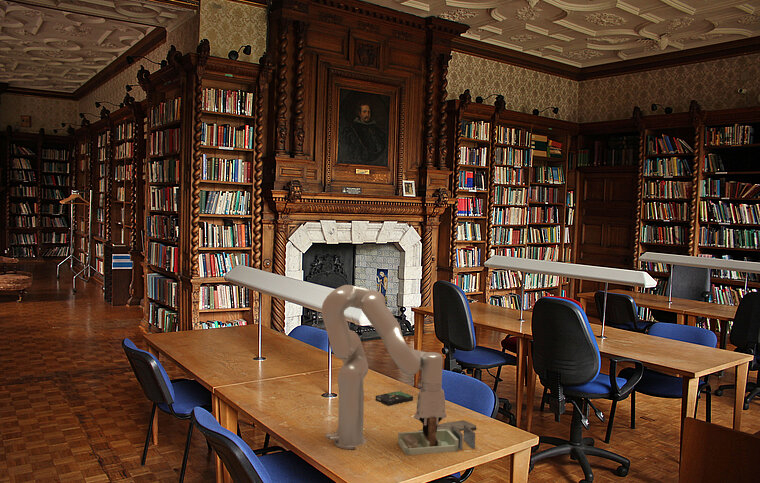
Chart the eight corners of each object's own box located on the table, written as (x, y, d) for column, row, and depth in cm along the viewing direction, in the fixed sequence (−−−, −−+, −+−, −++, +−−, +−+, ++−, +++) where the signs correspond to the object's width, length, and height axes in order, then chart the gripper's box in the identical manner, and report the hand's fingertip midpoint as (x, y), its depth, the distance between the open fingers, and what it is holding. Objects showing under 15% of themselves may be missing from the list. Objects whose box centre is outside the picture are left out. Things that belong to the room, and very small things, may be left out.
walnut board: (429, 450, 220) (430, 418, 220) (423, 442, 227) (424, 411, 226) (435, 449, 221) (436, 417, 220) (429, 442, 228) (430, 411, 227)
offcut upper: (410, 446, 219) (410, 441, 219) (404, 440, 224) (404, 435, 224) (417, 445, 220) (417, 440, 220) (411, 439, 225) (411, 434, 225)
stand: (459, 452, 222) (460, 434, 222) (451, 443, 231) (451, 425, 230) (474, 451, 223) (475, 433, 223) (465, 442, 232) (466, 424, 232)
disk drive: (388, 407, 273) (413, 401, 282) (388, 401, 273) (413, 395, 282) (375, 401, 281) (399, 395, 290) (375, 395, 281) (399, 390, 290)
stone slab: (405, 430, 238) (462, 415, 255) (405, 438, 239) (462, 422, 255) (420, 439, 230) (479, 423, 246) (420, 447, 230) (479, 430, 246)
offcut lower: (409, 452, 218) (409, 446, 218) (403, 445, 225) (404, 439, 225) (417, 451, 219) (417, 446, 219) (412, 444, 226) (412, 438, 226)
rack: (405, 458, 216) (406, 443, 216) (397, 446, 227) (398, 432, 226) (458, 454, 221) (458, 439, 221) (447, 442, 232) (448, 429, 231)
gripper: (413, 390, 217) (411, 439, 218) (455, 388, 221) (453, 437, 222) (407, 383, 224) (406, 432, 226) (448, 382, 228) (446, 429, 229)
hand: (429, 434), depth 224 cm, fingers closed on walnut board, 2 cm apart
